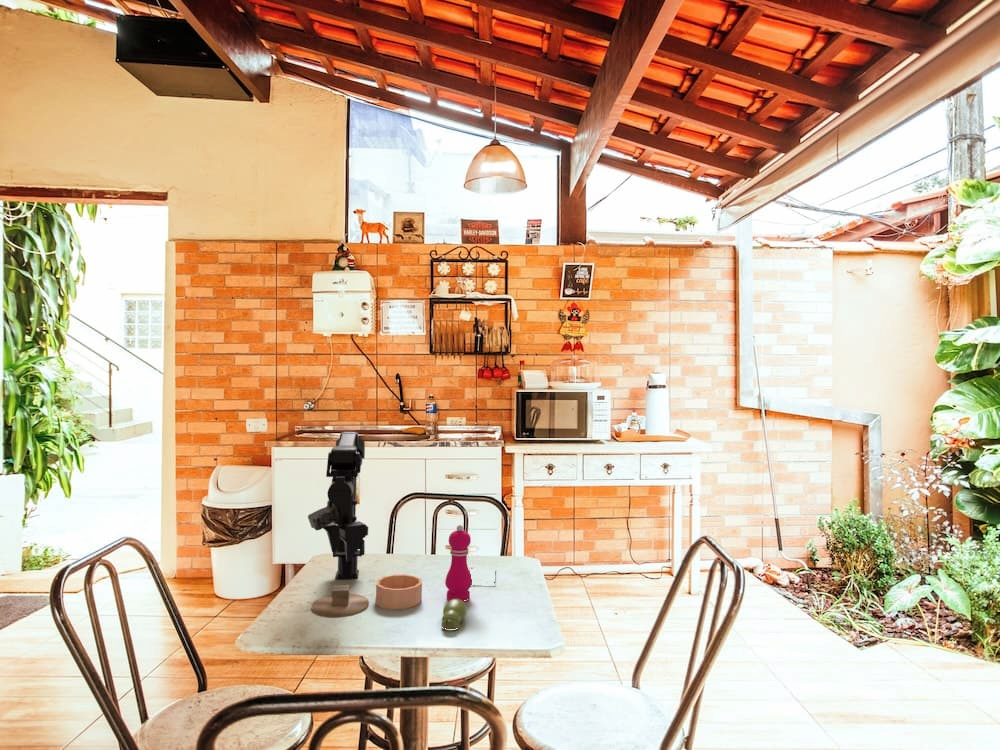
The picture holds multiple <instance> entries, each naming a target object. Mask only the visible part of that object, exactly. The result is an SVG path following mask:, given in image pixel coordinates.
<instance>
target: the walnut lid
mask: <svg viewBox="0 0 1000 750" xmlns="http://www.w3.org/2000/svg"><path fill="white" fill-rule="evenodd" d="M331 593H332V594H329V595H326V596H325V595H324V596H322V597H319V598H318V599H315V600H314V601H313V602H312V604H311V611H312V612H313V613H314V614H316V615H319V616H323V617H329V618H332V617H333V618H337V617H340V618H341V617H348V616H352V615H356V614H359V613H361V612H364V611H366V609H368V608H369V604H370V601H369V599H368V598H367V597H366V596H364V595H361V594H357V593H350V585H349V584H342V585H340V584H339V585H333V587H332V591H331Z"/></svg>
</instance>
